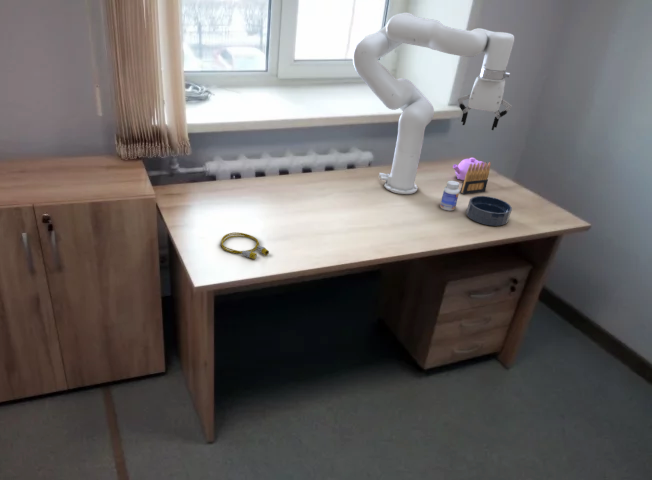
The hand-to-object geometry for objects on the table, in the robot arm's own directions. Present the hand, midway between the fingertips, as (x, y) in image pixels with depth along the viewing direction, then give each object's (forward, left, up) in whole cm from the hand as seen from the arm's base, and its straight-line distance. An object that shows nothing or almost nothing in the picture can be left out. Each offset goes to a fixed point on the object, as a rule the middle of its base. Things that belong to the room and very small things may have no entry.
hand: (478, 126), depth 180 cm
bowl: (+11, -8, -28) cm, 31 cm away
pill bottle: (-3, -7, -28) cm, 30 cm away
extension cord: (-55, -69, -28) cm, 93 cm away
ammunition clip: (+4, +13, -28) cm, 32 cm away
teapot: (0, +24, -28) cm, 37 cm away
